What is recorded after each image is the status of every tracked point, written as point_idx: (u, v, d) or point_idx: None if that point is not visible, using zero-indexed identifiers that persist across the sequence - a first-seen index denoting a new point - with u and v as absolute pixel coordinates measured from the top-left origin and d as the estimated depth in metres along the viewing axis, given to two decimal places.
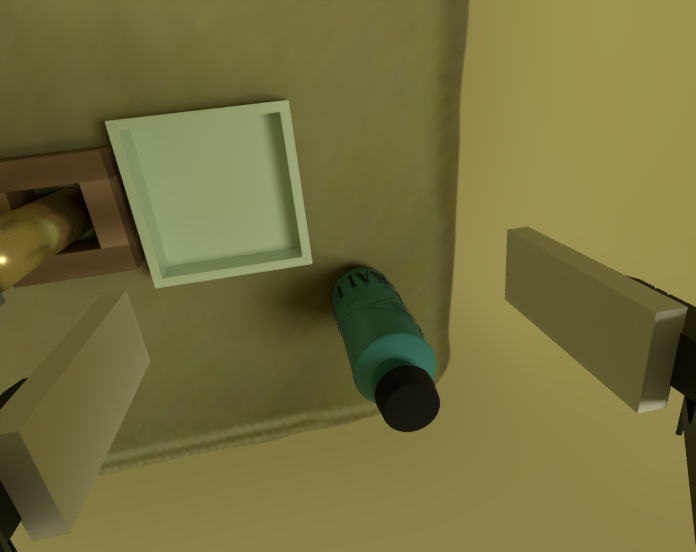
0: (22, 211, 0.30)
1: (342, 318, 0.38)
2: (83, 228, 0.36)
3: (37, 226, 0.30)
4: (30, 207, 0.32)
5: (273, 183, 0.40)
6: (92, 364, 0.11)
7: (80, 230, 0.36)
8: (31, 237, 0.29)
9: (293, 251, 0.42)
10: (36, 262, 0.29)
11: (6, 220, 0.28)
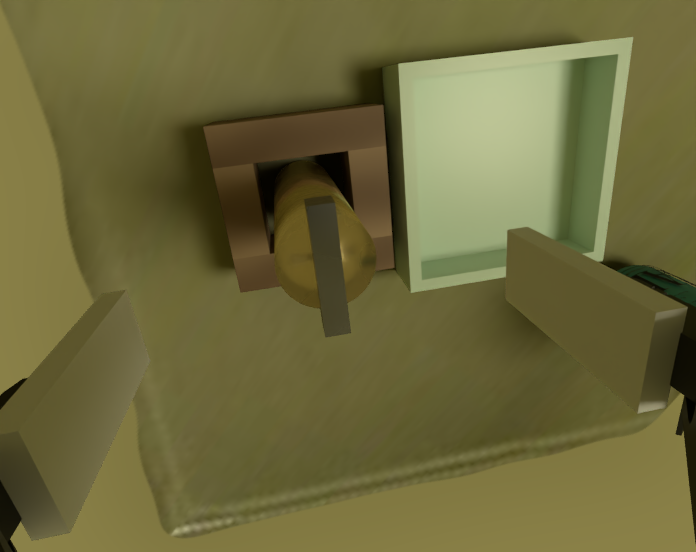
0: (321, 186, 0.21)
1: None
2: None
3: None
4: (318, 181, 0.22)
5: (555, 155, 0.31)
6: (92, 363, 0.11)
7: None
8: None
9: (566, 244, 0.32)
10: None
11: None
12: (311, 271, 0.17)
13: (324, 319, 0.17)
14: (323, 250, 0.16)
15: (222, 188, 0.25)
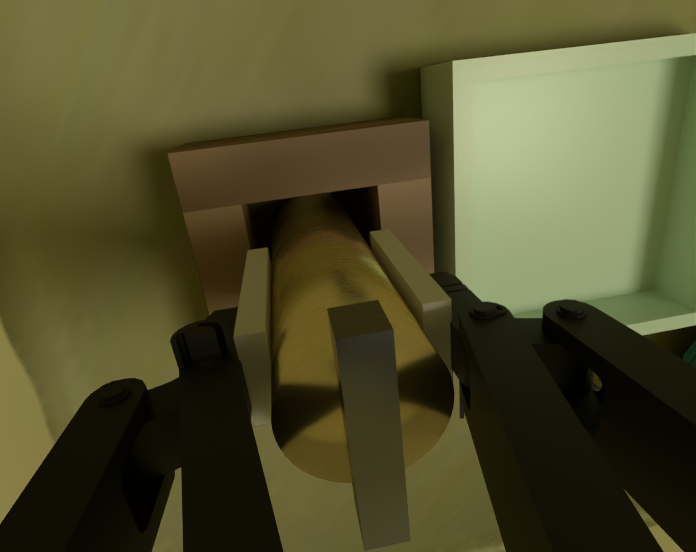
0: (345, 248, 0.14)
1: None
2: None
3: None
4: (338, 237, 0.15)
5: (645, 184, 0.23)
6: (270, 298, 0.14)
7: None
8: None
9: (655, 298, 0.25)
10: None
11: (366, 278, 0.11)
12: (337, 427, 0.10)
13: (363, 524, 0.09)
14: (367, 414, 0.08)
15: (197, 240, 0.18)
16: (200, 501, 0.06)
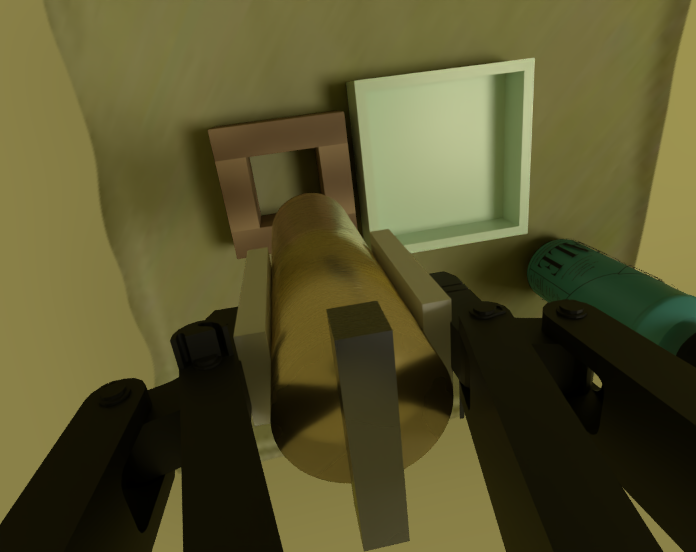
0: (344, 249, 0.14)
1: (573, 287, 0.36)
2: None
3: (392, 284, 0.13)
4: (337, 237, 0.15)
5: (487, 150, 0.39)
6: (269, 298, 0.14)
7: None
8: None
9: (500, 221, 0.40)
10: None
11: (365, 279, 0.11)
12: (336, 427, 0.10)
13: (363, 525, 0.09)
14: (366, 415, 0.08)
15: (222, 176, 0.33)
16: (200, 501, 0.06)
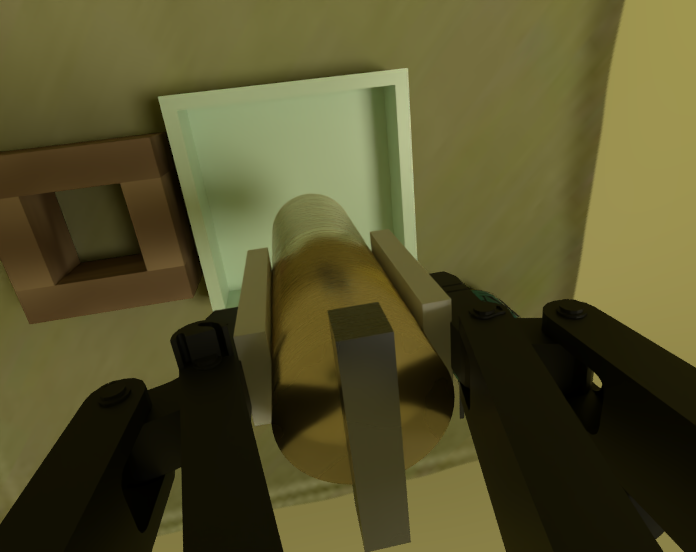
0: (345, 249, 0.14)
1: None
2: None
3: None
4: (338, 238, 0.15)
5: (368, 182, 0.30)
6: (270, 298, 0.14)
7: None
8: None
9: None
10: None
11: (366, 279, 0.11)
12: (337, 429, 0.10)
13: (364, 526, 0.09)
14: (367, 416, 0.08)
15: None
16: (200, 501, 0.06)
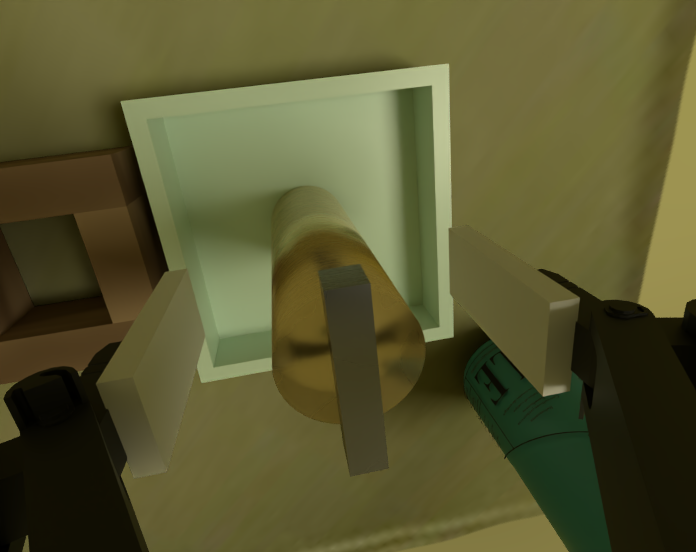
0: (336, 230, 0.15)
1: (520, 437, 0.22)
2: None
3: None
4: (330, 222, 0.17)
5: (391, 207, 0.25)
6: (171, 330, 0.12)
7: None
8: None
9: (416, 313, 0.26)
10: None
11: (353, 253, 0.13)
12: (327, 374, 0.11)
13: (349, 452, 0.11)
14: (350, 355, 0.10)
15: None
16: None
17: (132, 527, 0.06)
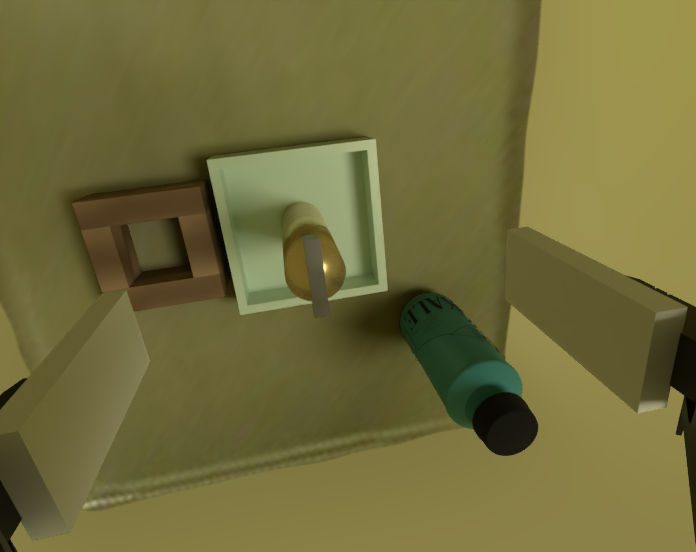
0: (313, 224, 0.33)
1: (421, 343, 0.40)
2: None
3: (332, 238, 0.32)
4: (311, 220, 0.34)
5: (351, 214, 0.42)
6: (92, 363, 0.11)
7: None
8: None
9: (367, 278, 0.44)
10: None
11: (319, 233, 0.31)
12: (306, 278, 0.29)
13: (314, 307, 0.28)
14: (313, 266, 0.27)
15: (89, 243, 0.36)
16: None
17: None
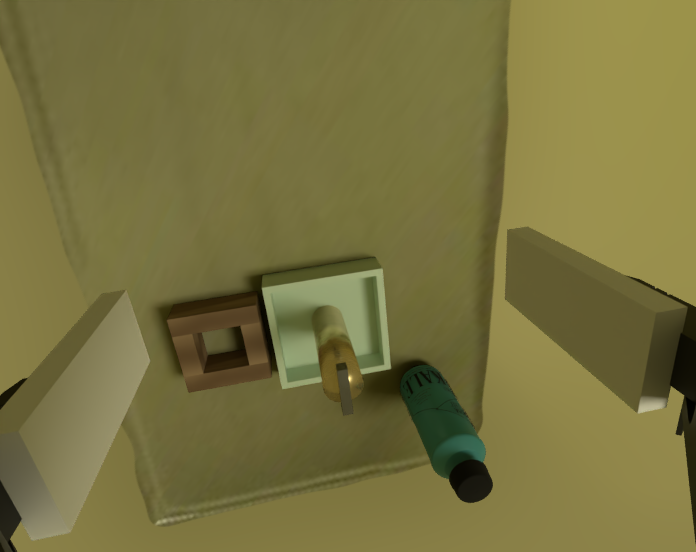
0: (339, 340, 0.47)
1: (415, 411, 0.54)
2: None
3: (353, 351, 0.47)
4: (337, 335, 0.48)
5: (363, 312, 0.56)
6: (92, 363, 0.11)
7: None
8: None
9: (375, 357, 0.58)
10: None
11: (344, 352, 0.45)
12: (337, 388, 0.43)
13: (343, 409, 0.43)
14: (343, 385, 0.42)
15: (177, 345, 0.51)
16: None
17: None
